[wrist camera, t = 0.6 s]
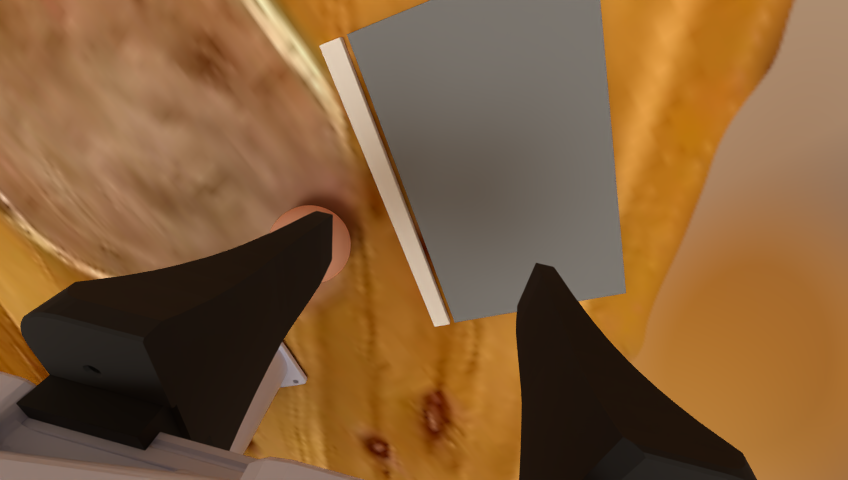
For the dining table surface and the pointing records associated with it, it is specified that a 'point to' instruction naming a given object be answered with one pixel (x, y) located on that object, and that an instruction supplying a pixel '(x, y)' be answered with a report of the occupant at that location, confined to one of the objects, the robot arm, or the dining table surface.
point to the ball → (339, 239)
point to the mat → (490, 146)
